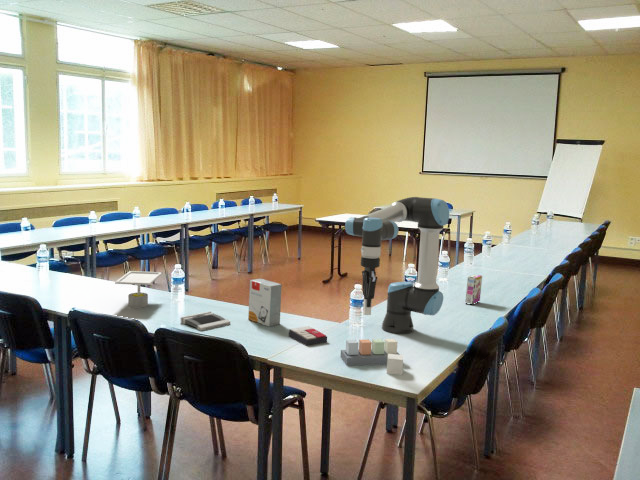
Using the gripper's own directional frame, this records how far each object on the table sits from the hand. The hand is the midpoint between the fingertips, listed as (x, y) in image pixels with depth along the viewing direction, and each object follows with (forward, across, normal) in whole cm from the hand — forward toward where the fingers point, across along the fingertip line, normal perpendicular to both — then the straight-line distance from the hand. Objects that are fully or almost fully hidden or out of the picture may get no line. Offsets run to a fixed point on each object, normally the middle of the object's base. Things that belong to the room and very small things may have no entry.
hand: (367, 314), depth 243 cm
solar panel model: (+20, -92, -95) cm, 133 cm away
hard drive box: (+20, -58, -34) cm, 70 cm away
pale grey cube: (+20, +13, +8) cm, 25 cm away
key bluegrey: (+16, 0, -6) cm, 17 cm away
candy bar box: (+20, -91, +93) cm, 132 cm away
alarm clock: (+20, -56, -62) cm, 86 cm away
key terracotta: (+16, 0, 0) cm, 16 cm away
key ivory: (+16, 0, +11) cm, 20 cm away
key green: (+16, 0, +5) cm, 17 cm away
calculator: (+20, -29, -18) cm, 40 cm away
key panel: (+19, 0, +3) cm, 20 cm away
